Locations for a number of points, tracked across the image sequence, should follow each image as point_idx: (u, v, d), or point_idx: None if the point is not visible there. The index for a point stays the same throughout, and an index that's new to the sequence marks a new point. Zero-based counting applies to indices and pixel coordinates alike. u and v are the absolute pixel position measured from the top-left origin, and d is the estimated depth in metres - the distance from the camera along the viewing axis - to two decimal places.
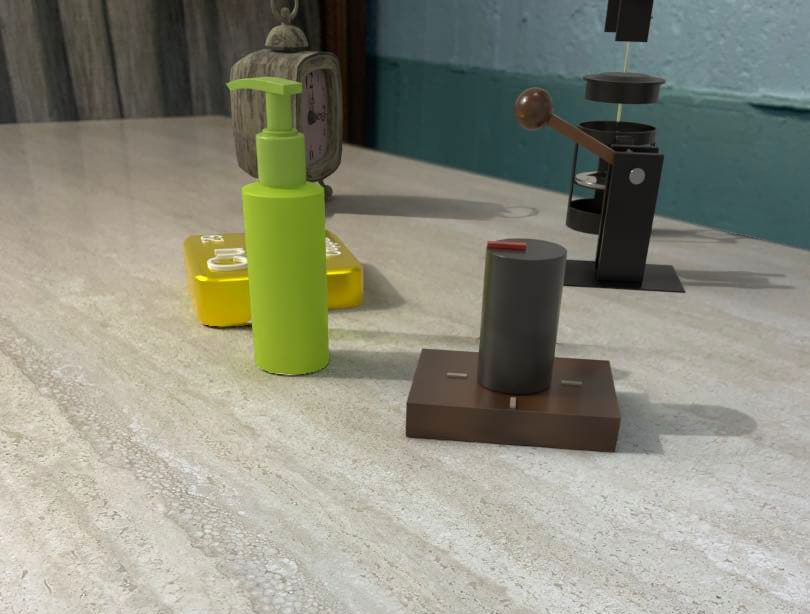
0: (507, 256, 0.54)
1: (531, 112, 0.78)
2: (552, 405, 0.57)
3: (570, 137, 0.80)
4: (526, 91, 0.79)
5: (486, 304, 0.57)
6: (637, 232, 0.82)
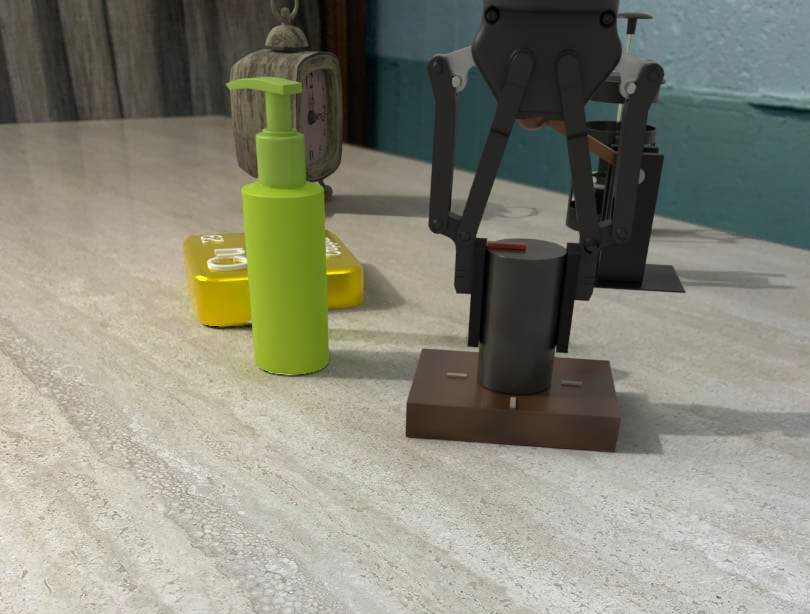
0: (507, 256, 0.54)
1: None
2: (552, 405, 0.57)
3: None
4: None
5: (486, 305, 0.57)
6: (637, 232, 0.82)
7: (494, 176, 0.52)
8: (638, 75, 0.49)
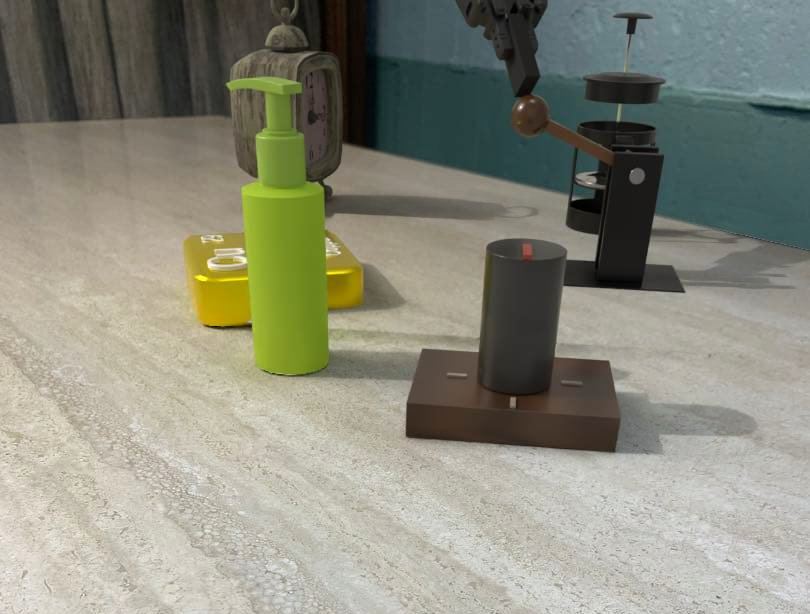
0: (559, 255, 0.55)
1: (527, 119, 0.79)
2: (552, 405, 0.57)
3: (568, 141, 0.80)
4: (522, 99, 0.79)
5: (541, 313, 0.56)
6: (637, 232, 0.82)
7: None
8: None
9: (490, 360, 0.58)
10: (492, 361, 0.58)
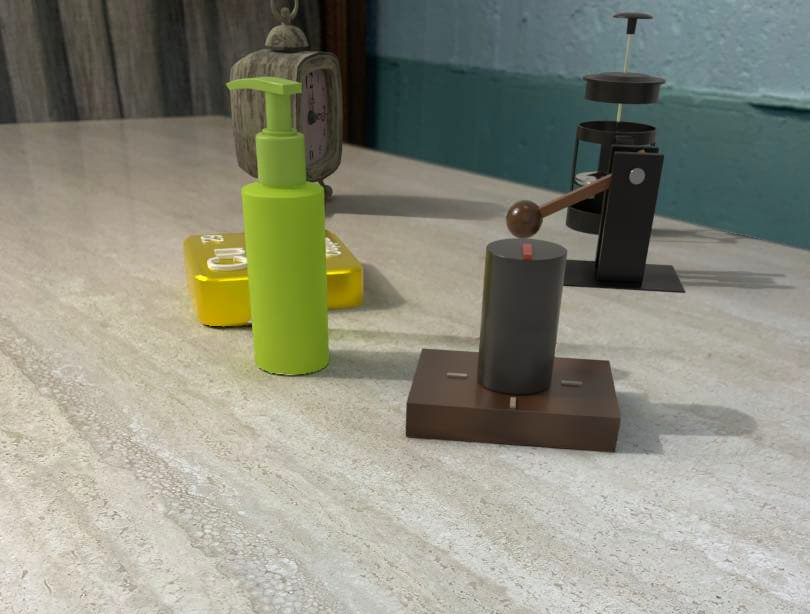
0: (559, 255, 0.55)
1: (523, 226, 0.84)
2: (552, 405, 0.57)
3: (566, 206, 0.84)
4: (507, 217, 0.85)
5: (541, 313, 0.56)
6: (637, 232, 0.82)
7: None
8: None
9: (490, 360, 0.58)
10: (492, 361, 0.58)
